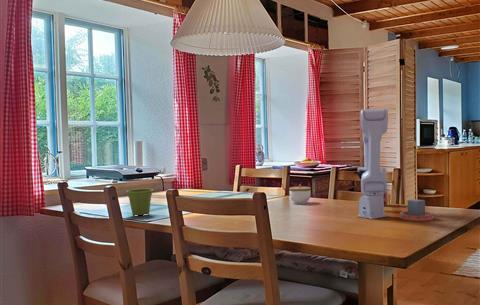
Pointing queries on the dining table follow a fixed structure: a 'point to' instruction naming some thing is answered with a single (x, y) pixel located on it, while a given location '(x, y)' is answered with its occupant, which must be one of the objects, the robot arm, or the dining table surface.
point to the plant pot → (140, 200)
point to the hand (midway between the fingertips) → (371, 189)
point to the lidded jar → (300, 194)
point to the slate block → (416, 207)
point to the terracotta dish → (416, 216)
